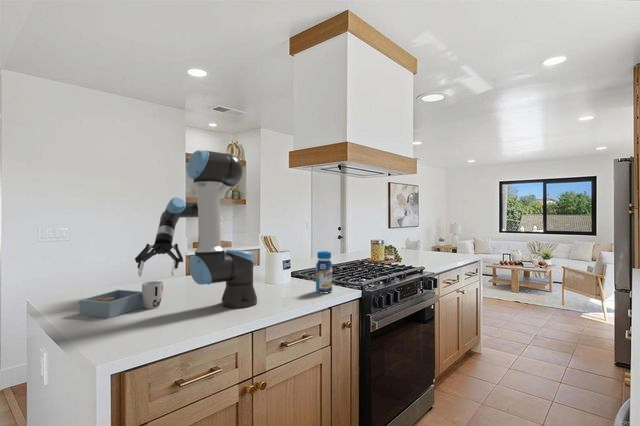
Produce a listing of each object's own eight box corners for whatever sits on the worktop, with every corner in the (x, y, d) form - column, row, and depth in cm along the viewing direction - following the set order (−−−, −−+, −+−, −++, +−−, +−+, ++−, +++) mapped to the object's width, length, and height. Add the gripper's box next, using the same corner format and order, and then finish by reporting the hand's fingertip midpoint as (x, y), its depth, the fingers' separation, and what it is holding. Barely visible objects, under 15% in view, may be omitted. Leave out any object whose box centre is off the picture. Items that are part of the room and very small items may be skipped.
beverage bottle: (321, 289, 187) (322, 250, 187) (335, 291, 182) (335, 251, 182) (312, 292, 180) (312, 252, 180) (326, 294, 175) (326, 253, 175)
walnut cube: (114, 310, 143) (114, 297, 143) (104, 313, 138) (104, 300, 138) (104, 309, 144) (104, 296, 144) (93, 312, 139) (93, 299, 139)
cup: (154, 310, 146) (154, 285, 146) (137, 309, 148) (137, 284, 148) (167, 305, 154) (167, 281, 154) (150, 304, 156) (150, 280, 156)
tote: (145, 305, 153) (145, 291, 153) (109, 318, 135) (109, 302, 135) (118, 303, 157) (118, 289, 157) (79, 315, 138) (79, 300, 138)
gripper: (192, 242, 178) (187, 278, 164) (138, 242, 174) (127, 279, 159) (191, 232, 173) (185, 268, 158) (134, 232, 169) (123, 269, 154)
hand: (156, 274), depth 159 cm, fingers open, 13 cm apart
